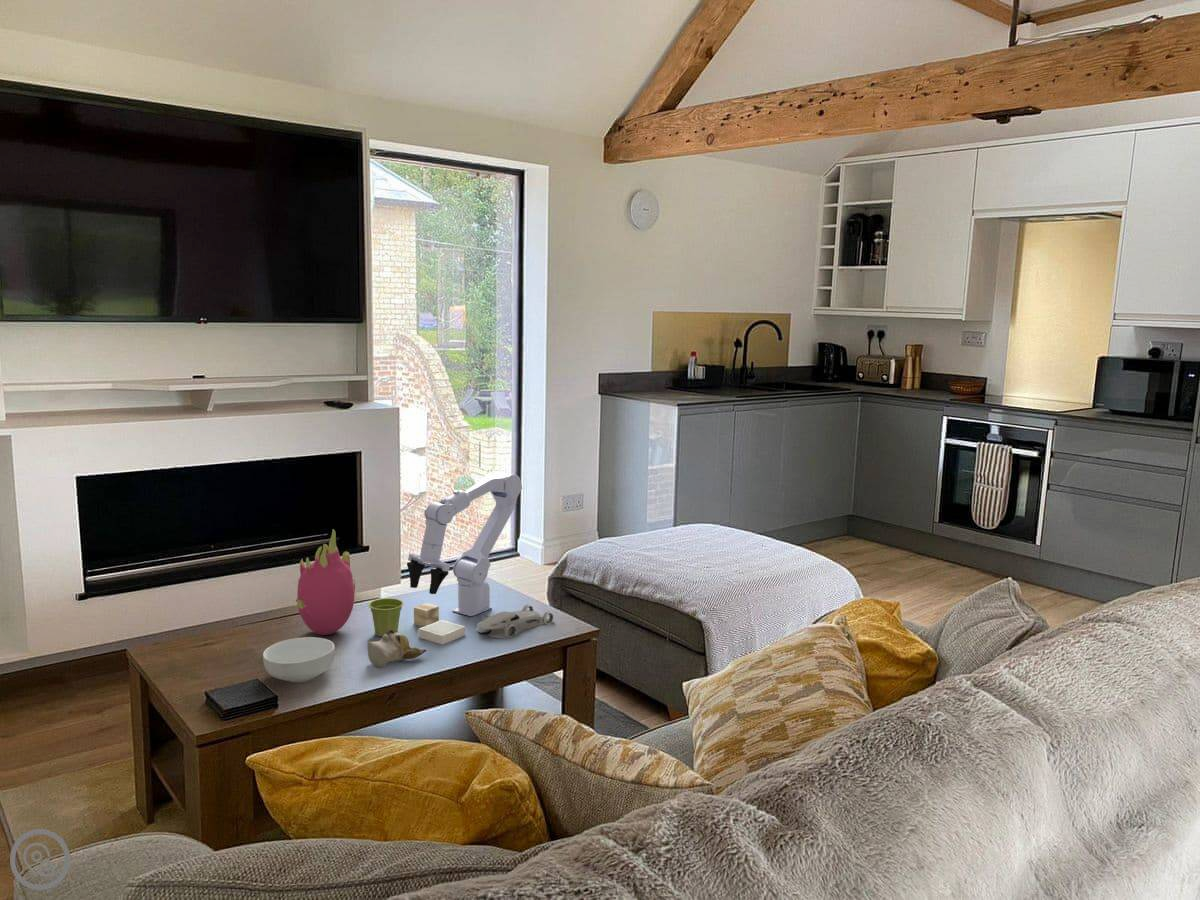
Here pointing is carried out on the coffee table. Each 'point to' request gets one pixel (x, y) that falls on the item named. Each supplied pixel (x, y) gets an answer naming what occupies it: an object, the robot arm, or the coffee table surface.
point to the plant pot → (386, 614)
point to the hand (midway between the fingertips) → (423, 590)
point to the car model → (512, 622)
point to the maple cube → (426, 614)
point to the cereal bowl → (299, 658)
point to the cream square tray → (441, 632)
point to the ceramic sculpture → (391, 649)
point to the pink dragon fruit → (326, 590)
